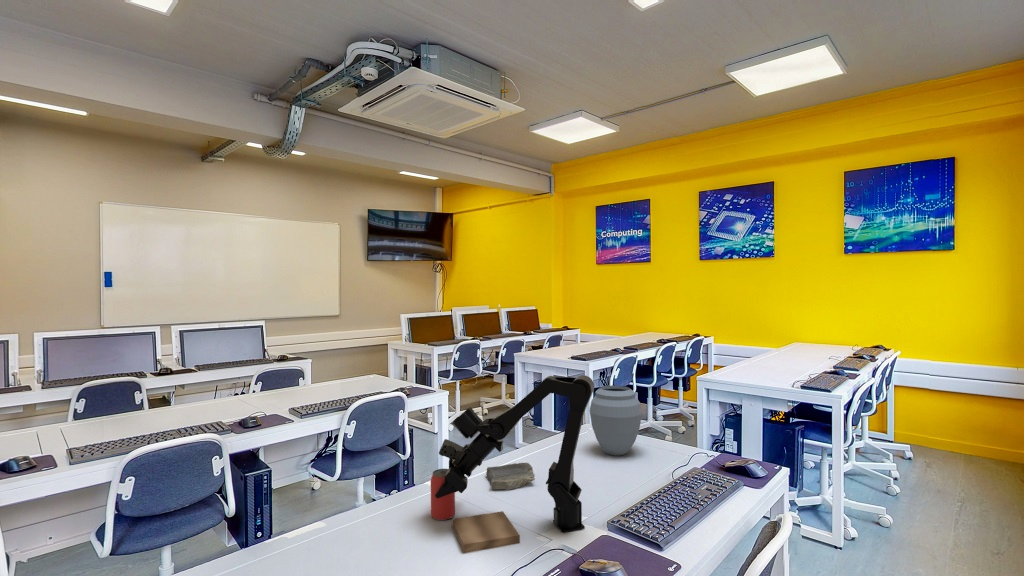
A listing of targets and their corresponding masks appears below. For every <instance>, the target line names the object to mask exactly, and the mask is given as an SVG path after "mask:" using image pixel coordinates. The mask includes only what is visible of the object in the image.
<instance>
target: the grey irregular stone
mask: <svg viewBox="0 0 1024 576" xmlns="http://www.w3.org/2000/svg"><path fill="white" fill-rule="evenodd" d="M485 474H486V475H487V476H486V475H485V476H486V479H487V478H488V479H487V480H488V482H489V481H490V482H489V484H490V485H491V486H490V487H491V491H494V490H495V491H496V490H508V491H509V490H513V489H514V490H515V489H517V488H521V487H523V486H525V485H526V484H527V483H531V482H533V481H535V480H536V478H535V476H536V474H535V473H534V470H533V467H532V465H531V464H530V463H529V462H518V463H516V462H515V463H509V464H505V465H498V466H497V465H496V466H488V467H487V468H486V473H485Z"/></svg>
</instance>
